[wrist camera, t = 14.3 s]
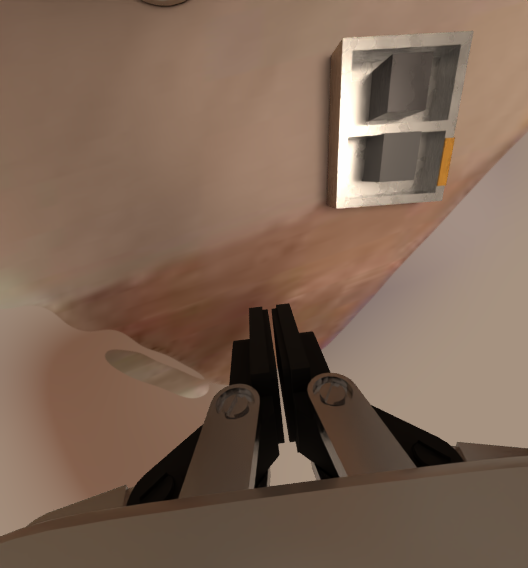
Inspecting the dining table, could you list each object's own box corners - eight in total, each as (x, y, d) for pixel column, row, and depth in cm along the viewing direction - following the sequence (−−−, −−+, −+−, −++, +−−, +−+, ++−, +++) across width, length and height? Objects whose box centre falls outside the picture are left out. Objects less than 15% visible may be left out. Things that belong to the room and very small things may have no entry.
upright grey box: (366, 139, 32) (384, 133, 27) (398, 137, 32) (421, 131, 28) (362, 181, 33) (379, 182, 29) (393, 179, 34) (414, 179, 29)
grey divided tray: (330, 55, 29) (347, 31, 24) (447, 49, 29) (487, 23, 24) (326, 205, 35) (339, 209, 30) (423, 198, 35) (451, 201, 31)
